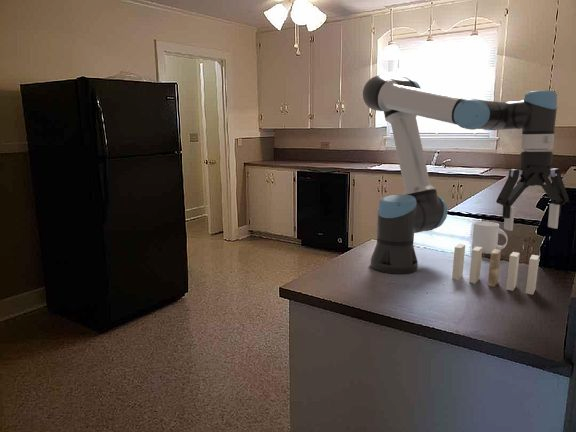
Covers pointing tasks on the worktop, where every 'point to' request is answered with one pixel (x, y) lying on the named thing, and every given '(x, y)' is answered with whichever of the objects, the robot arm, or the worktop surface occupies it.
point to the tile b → (475, 264)
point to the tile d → (532, 274)
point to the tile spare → (494, 267)
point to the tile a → (458, 261)
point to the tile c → (512, 271)
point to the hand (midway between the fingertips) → (530, 228)
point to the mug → (487, 236)
